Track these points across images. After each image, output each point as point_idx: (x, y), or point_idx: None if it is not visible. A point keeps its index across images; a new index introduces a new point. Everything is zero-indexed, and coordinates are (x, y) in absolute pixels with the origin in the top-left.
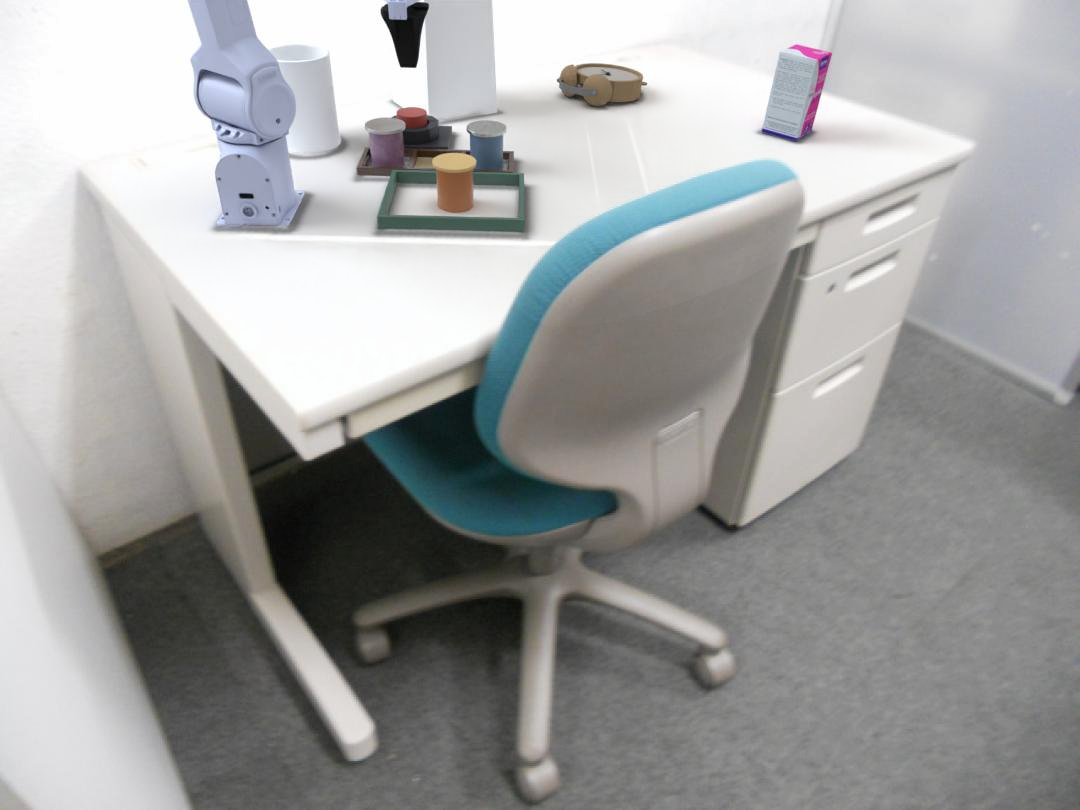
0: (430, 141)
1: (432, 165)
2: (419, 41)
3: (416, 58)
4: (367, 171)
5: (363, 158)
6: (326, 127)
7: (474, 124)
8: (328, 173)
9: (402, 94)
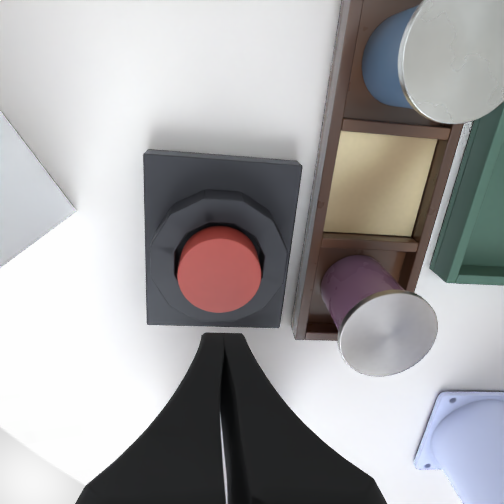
0: (268, 209)
1: (372, 198)
2: (245, 389)
3: (251, 353)
4: None
5: None
6: None
7: (437, 95)
8: (354, 373)
9: None
